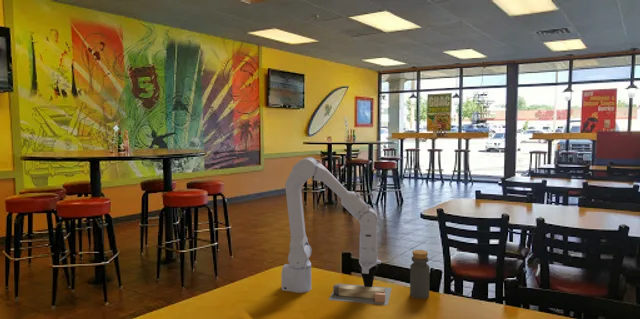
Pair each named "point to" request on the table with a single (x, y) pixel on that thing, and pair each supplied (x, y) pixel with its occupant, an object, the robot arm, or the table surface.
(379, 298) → the leg stop
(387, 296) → the stool seat
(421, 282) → the bottle
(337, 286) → the stool leg
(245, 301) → the table surface
